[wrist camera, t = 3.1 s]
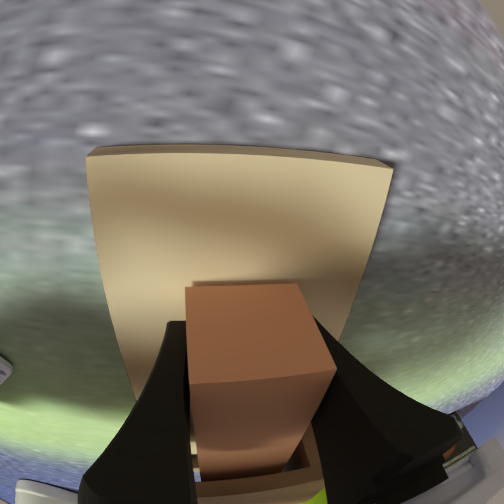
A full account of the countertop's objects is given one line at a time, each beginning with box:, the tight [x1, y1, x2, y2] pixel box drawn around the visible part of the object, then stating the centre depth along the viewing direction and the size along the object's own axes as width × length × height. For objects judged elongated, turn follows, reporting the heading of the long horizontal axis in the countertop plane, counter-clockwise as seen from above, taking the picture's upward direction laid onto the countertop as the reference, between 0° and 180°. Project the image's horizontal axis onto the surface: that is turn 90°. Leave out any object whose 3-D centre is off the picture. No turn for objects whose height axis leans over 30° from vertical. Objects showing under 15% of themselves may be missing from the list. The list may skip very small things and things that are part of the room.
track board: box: [86, 144, 393, 471], centre depth 16 cm, size 25×10×1 cm, turn 175°
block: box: [185, 283, 337, 482], centre depth 13 cm, size 13×4×4 cm, turn 175°
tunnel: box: [195, 422, 325, 504], centre depth 14 cm, size 6×8×6 cm
